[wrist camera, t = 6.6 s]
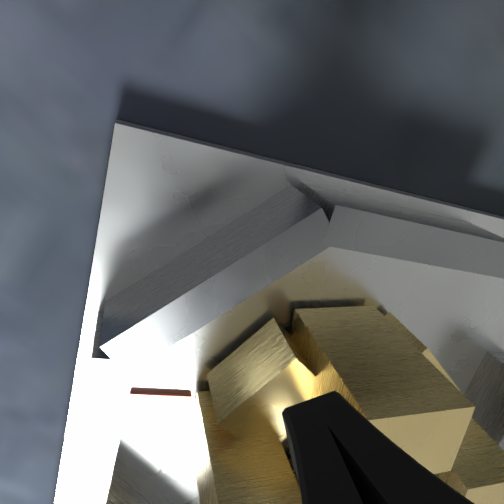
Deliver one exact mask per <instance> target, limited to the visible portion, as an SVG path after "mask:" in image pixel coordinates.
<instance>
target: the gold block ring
mask: <svg viewBox="0 0 504 504" xmlns="http://www.w3.org/2000/svg"><path fill="white" fill-rule="evenodd" d="M207 378H208V383H209V387H210V391H201V392H197V397H196V412H195V427H194V443H193V462H194V468H195V475H196V482H197V488H198V495H199V501H200V504H302V499H301V492H300V485H299V481H298V478H297V475H296V472H295V469H294V466H293V462H292V459H287V456H286V454H285V451H284V449H283V446H282V444H281V441H283V440H284V439H285V438H286V437H287V435H286V431H285V426H284V422H283V417H282V412H283V411H284V409H285V408H287V407H289V406H292V405H295V404H298V403H301V402H304V401H306V400H309V399H312V398H315V397H318V396H320V395H323V394H326V393H329V392H332V391H336V392H338V393H340V394H341V395H342V396H343V397H344V398H345V399H346V400H347V401H348V402H349V403H350V404H351V405H352V406H353V407H354V408H355V409H356V410H357V411H358V412H359V413H360V414H362V415H363V416H364V417H365V418H366V419H367V420H368V421H369V422H370V423H372V424H373V425H374V426H375V427H376V428H377V429H378V430H380V431H381V432H382V433H383V434H384V435H385V436H387V437H388V438H389V439H390V440H391V441H392V442H394V443H395V444H396V445H397V446H399V447H400V448H401V449H402V450H404V451H405V452H406V453H407V454H409V455H410V456H411V457H412V458H414V459H415V460H416V461H417V462H418V463H420V464H421V465H422V466H424V467H425V468H426V469H428V470H429V471H430V472H431V473H433V474H434V475H435V476H437V477H438V478H440V479H441V480H442V481H444V482H445V483H446V484H448V485H449V486H450V487H452V488H453V489H455V490H456V491H457V492H459V493H460V494H461V495H463V496H464V497H466V498H467V499H469V500H470V501H471V502H473V503H474V504H504V451H503V449H502V448H501V447H500V446H499V445H498V444H497V443H496V442H495V441H494V440H493V439H492V438H491V437H490V436H489V435H488V434H487V433H486V432H485V431H484V430H483V429H482V428H481V427H480V426H479V425H478V424H477V423H476V422H475V420H474V419H473V418H472V415H473V412H474V409H475V406H474V405H473V404H472V403H471V402H470V401H469V400H468V399H467V398H466V397H465V396H464V395H463V394H462V392H461V391H460V390H459V388H458V387H457V386H456V385H455V383H454V382H453V381H452V379H451V378H450V377H449V375H448V374H447V373H446V372H445V370H444V369H443V368H442V366H441V365H440V364H439V362H438V361H437V360H436V359H435V357H434V356H433V355H432V353H431V352H430V351H429V349H428V348H427V347H426V346H425V345H424V344H423V343H422V342H421V341H420V340H418V339H417V338H416V337H415V336H414V335H413V334H412V333H411V332H410V331H409V330H408V329H407V328H406V327H405V326H404V325H403V324H402V323H401V322H400V321H399V320H398V319H396V318H395V317H394V316H393V315H392V314H391V313H390V312H388V313H387V314H386V315H385V316H384V315H383V314H382V313H381V312H380V311H379V310H378V309H377V308H376V307H375V306H374V305H373V306H351V307H329V308H306V309H295V310H294V316H293V323H292V329H291V334H290V333H289V332H288V331H287V330H286V329H285V328H284V327H283V326H282V325H281V324H279V323H278V322H277V321H276V320H275V319H274V318H272V319H271V320H270V321H269V322H268V323H266V324H265V325H264V326H263V327H262V328H261V329H259V330H258V331H257V332H256V333H255V334H253V335H252V336H251V337H250V338H249V339H248V340H246V341H245V342H244V343H243V344H242V345H240V346H239V347H238V348H237V349H236V350H235V351H233V352H232V353H231V354H230V355H229V356H228V357H226V358H225V359H224V360H223V361H222V362H220V363H219V364H218V365H217V366H216V367H215V368H213V369H212V370H211V371H210V372H209V373H208V374H207Z"/></svg>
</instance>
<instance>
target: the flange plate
mask: <svg viewBox="0 0 504 504" xmlns="http://www.w3.org/2000/svg"><path fill="white" fill-rule="evenodd" d="M373 305H374V306H375V307H376V308H377V309H378V310H379V311H380V312H381V313H382V314H383V315H384V316H385V315H386V314H387V313H388V312H390V313H391V314H392V315H393V316H394V317H395V318H396V319H398V320H399V321H400V322H401V323H402V324H403V325H404V326H405V327H406V328H407V329H408V330H409V331H410V332H411V333H412V334H413V335H414V336H415V337H416V338H417V339H418V340H420V341H421V342H422V343H423V344H424V345H425V346H426V347H427V348H428V349H429V351H430V352H431V353H432V355H433V356H434V357H435V359H436V360H437V361H438V362H439V364H440V365H441V366H442V368H443V369H444V370H445V372H446V373H447V374H448V375H449V377H450V378H451V379H452V381H453V382H454V383H455V385H456V386H457V387H458V388H459V390H460V391H461V392H462V394H463V395H464V396H465V397H466V398H467V399H468V400H469V401H470V402H471V403H472V404H473V405H474V406H475V409H474V412H473V415H472V418H473V419H474V420H475V422H476V423H477V424H478V425H479V426H480V427H481V428H482V429H483V430H484V431H485V432H486V433H487V434H488V435H489V436H490V437H491V438H492V439H493V440H494V441H495V442H496V443H497V444H498V445H499V446H500V447H501V448H502V449H503V451H504V216H500V215H496V214H492V213H488V212H484V211H480V210H476V209H472V208H468V207H464V206H460V205H456V204H452V203H448V202H444V201H440V200H436V199H432V198H428V197H424V196H420V195H416V194H412V193H408V192H404V191H400V190H396V189H392V188H388V187H385V186H381V185H377V184H373V183H369V182H365V181H361V180H357V179H353V178H349V177H345V176H341V175H337V174H333V173H329V172H325V171H321V170H317V169H313V168H309V167H305V166H301V165H297V164H293V163H289V162H285V161H281V160H277V159H273V158H269V157H265V156H261V155H257V154H253V153H249V152H245V151H241V150H237V149H233V148H229V147H225V146H221V145H217V144H213V143H210V142H206V141H202V140H198V139H194V138H190V137H186V136H182V135H178V134H174V133H170V132H166V131H162V130H158V129H154V128H150V127H146V126H142V125H138V124H134V123H130V122H126V121H122V120H118V119H116V122H115V127H114V133H113V139H112V146H111V152H110V158H109V164H108V171H107V177H106V183H105V189H104V196H103V202H102V208H101V214H100V220H99V227H98V233H97V239H96V245H95V252H94V258H93V264H92V270H91V277H90V283H89V289H88V295H87V302H86V308H85V314H84V320H83V327H82V333H81V339H80V345H79V351H78V358H77V364H76V370H75V376H74V383H73V389H72V395H71V401H70V408H69V414H68V420H67V426H66V433H65V439H64V445H63V451H62V457H61V464H60V470H59V476H58V482H57V489H56V495H55V501H54V504H200V501H199V495H198V488H197V482H196V475H195V468H194V462H193V443H194V427H195V412H196V397H197V392H201V391H210V387H209V383H208V378H207V374H208V373H209V372H210V371H211V370H212V369H213V368H215V367H216V366H217V365H218V364H219V363H220V362H222V361H223V360H224V359H225V358H226V357H228V356H229V355H230V354H231V353H232V352H233V351H235V350H236V349H237V348H238V347H239V346H240V345H242V344H243V343H244V342H245V341H246V340H248V339H249V338H250V337H251V336H252V335H253V334H255V333H256V332H257V331H258V330H259V329H261V328H262V327H263V326H264V325H265V324H266V323H268V322H269V321H270V320H271V319H272V318H274V319H275V320H276V321H277V322H278V323H279V324H281V325H282V326H283V327H284V328H285V329H286V330H287V331H288V332H289V333H290V334H291V329H292V323H293V316H294V310H295V309H306V308H329V307H351V306H373ZM281 444H282V446H283V449H284V451H285V454H286V456H287V459H292V458H291V453H290V449H289V444H288V440H287V437H286V438H285V439H284V440H283V441H281Z"/></svg>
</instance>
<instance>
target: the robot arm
mask: <svg viewBox="0 0 504 504" xmlns="http://www.w3.org/2000/svg"><path fill="white" fill-rule="evenodd" d="M282 417H283V422H284V426H285V431H286V435H287V440H288V444H289V449H290V453H291V458H292V462H293V466H294V469H295V472H296V475H297V478H298V481H299V485H300V492H301V499H302V504H474V503H473V502H471V501H470V500H469V499H467V498H466V497H464V496H463V495H461V494H460V493H459V492H457V491H456V490H455V489H453V488H452V487H450V486H449V485H448V484H446V483H445V482H444V481H442V480H441V479H440V478H438V477H437V476H435V475H434V474H433V473H431V472H430V471H429V470H428V469H426V468H425V467H424V466H422V465H421V464H420V463H418V462H417V461H416V460H415V459H414V458H412V457H411V456H410V455H409V454H407V453H406V452H405V451H404V450H402V449H401V448H400V447H399V446H397V445H396V444H395V443H394V442H392V441H391V440H390V439H389V438H388V437H387V436H385V435H384V434H383V433H382V432H381V431H380V430H378V429H377V428H376V427H375V426H374V425H373V424H372V423H370V422H369V421H368V420H367V419H366V418H365V417H364V416H363V415H362V414H360V413H359V412H358V411H357V410H356V409H355V408H354V407H353V406H352V405H351V404H350V403H349V402H348V401H347V400H346V399H345V398H344V397H343V396H342V395H341V394H340V393H338V392H336V391H332V392H329V393H326V394H323V395H320V396H318V397H315V398H312V399H309V400H306V401H304V402H301V403H298V404H295V405H292V406H289V407H287V408H285V409H284V411H283V412H282Z"/></svg>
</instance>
